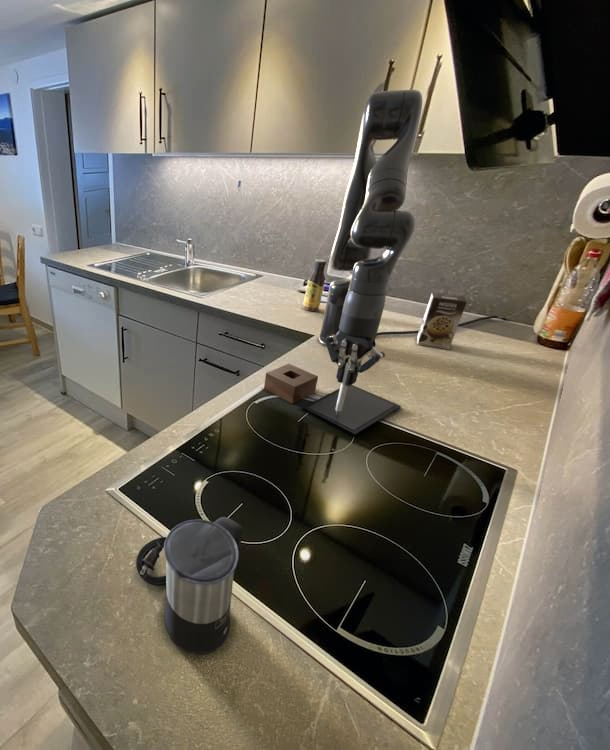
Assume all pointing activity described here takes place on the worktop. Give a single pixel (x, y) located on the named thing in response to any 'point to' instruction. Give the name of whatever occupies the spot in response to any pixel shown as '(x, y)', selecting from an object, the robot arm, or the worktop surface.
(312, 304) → the sauce bottle
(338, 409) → the stylus
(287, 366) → the stand
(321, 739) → the worktop surface
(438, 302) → the brown upright rectangular box
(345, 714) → the worktop surface
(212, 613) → the milk frother
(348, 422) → the tablet
